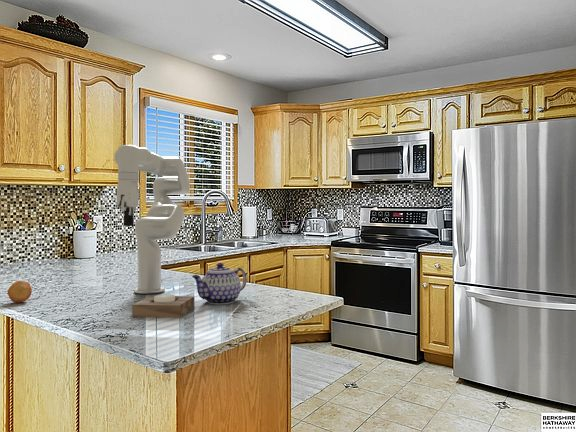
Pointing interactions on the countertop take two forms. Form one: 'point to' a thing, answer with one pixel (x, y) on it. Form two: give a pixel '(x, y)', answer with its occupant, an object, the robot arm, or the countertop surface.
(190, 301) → the housing
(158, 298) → the button
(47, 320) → the countertop surface
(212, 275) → the teapot
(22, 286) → the fruit
